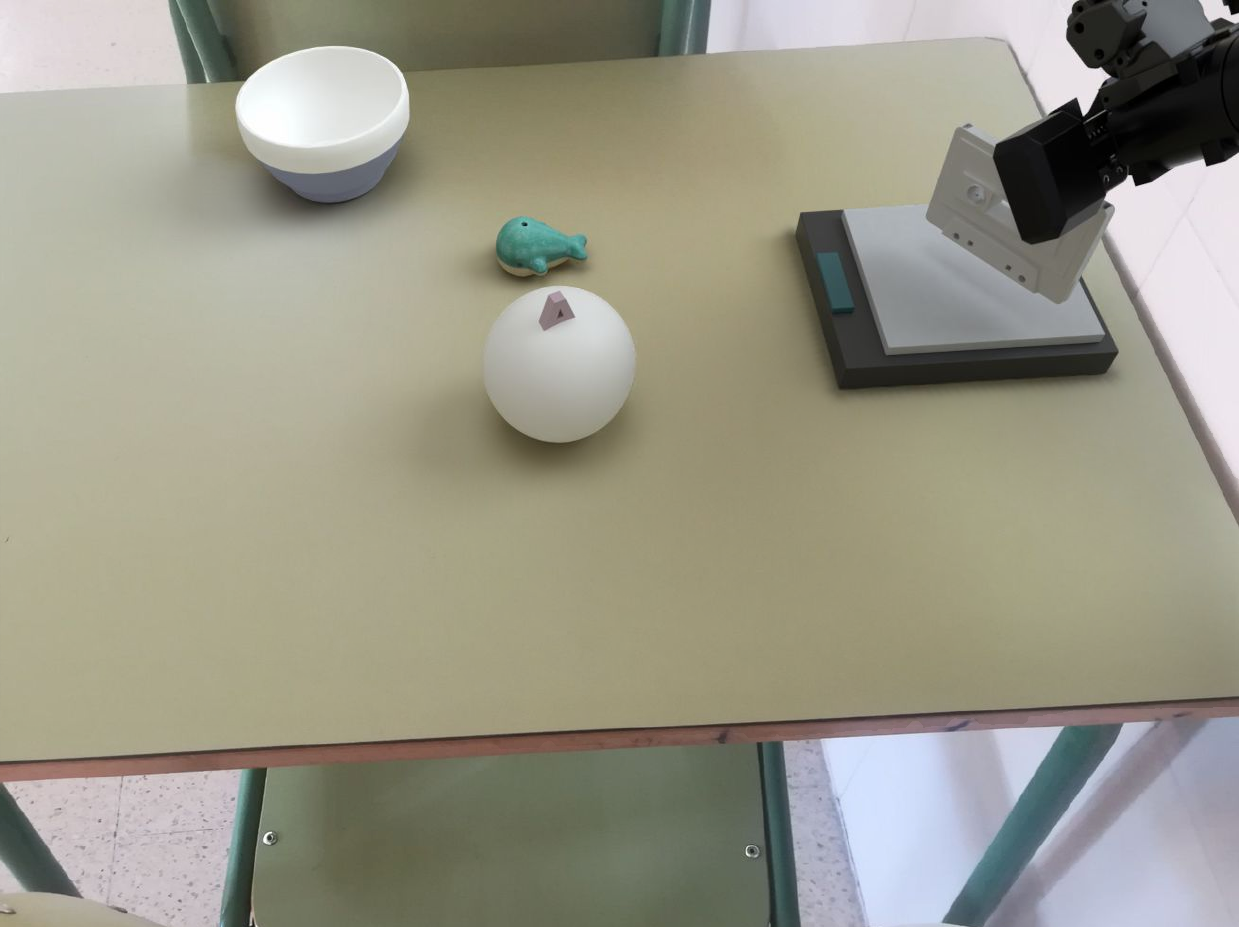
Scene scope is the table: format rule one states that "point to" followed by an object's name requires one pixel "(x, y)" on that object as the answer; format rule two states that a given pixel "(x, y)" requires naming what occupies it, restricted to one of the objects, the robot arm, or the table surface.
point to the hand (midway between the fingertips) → (1011, 168)
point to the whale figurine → (536, 247)
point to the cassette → (1005, 221)
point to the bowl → (325, 120)
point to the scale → (935, 306)
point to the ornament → (559, 363)
